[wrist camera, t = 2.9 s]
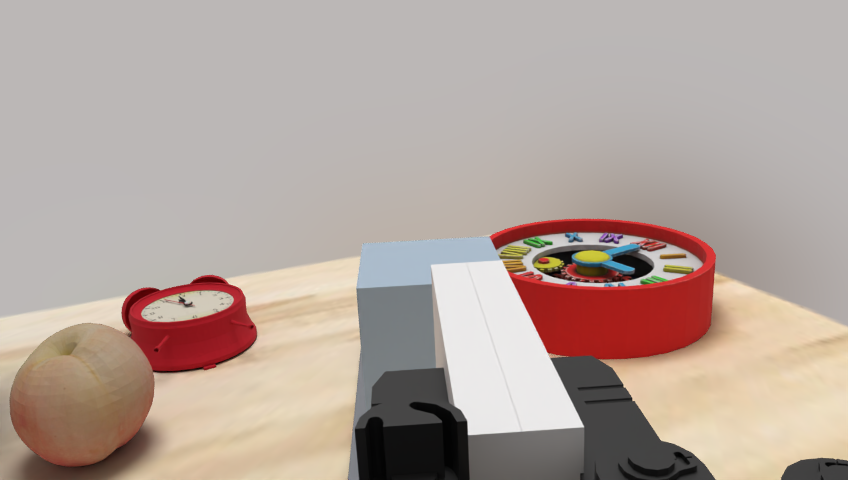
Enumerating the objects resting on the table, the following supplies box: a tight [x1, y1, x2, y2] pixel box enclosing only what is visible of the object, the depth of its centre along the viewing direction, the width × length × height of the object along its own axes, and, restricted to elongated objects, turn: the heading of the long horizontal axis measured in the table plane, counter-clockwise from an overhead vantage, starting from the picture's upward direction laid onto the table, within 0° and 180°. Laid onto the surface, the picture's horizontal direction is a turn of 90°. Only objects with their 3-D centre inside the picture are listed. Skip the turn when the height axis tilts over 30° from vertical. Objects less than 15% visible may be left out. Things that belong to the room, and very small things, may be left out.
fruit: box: [10, 323, 154, 467], centre depth 43 cm, size 8×8×8 cm
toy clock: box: [489, 219, 716, 359], centre depth 62 cm, size 20×6×20 cm
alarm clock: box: [122, 275, 257, 371], centre depth 60 cm, size 10×6×15 cm
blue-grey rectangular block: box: [356, 237, 500, 412], centre depth 32 cm, size 6×6×15 cm
